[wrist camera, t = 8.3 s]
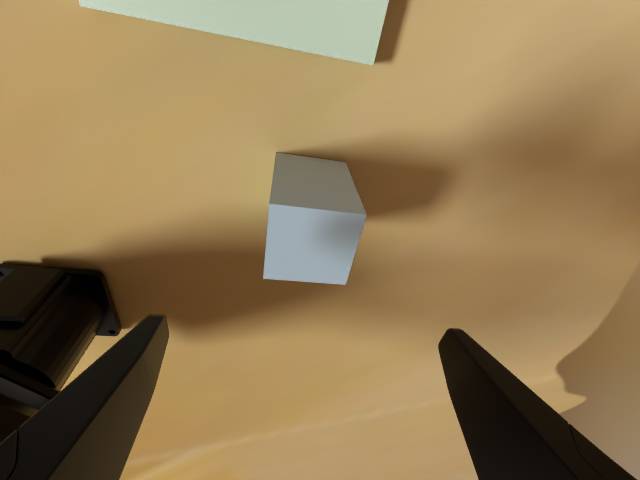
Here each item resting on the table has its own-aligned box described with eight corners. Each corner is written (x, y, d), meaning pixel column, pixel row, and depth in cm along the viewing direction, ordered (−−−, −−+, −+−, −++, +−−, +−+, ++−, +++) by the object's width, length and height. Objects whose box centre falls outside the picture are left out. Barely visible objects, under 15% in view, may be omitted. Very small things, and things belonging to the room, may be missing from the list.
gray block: (332, 220, 19) (345, 284, 14) (270, 213, 19) (263, 278, 14) (345, 162, 17) (366, 214, 12) (276, 152, 16) (269, 203, 12)
